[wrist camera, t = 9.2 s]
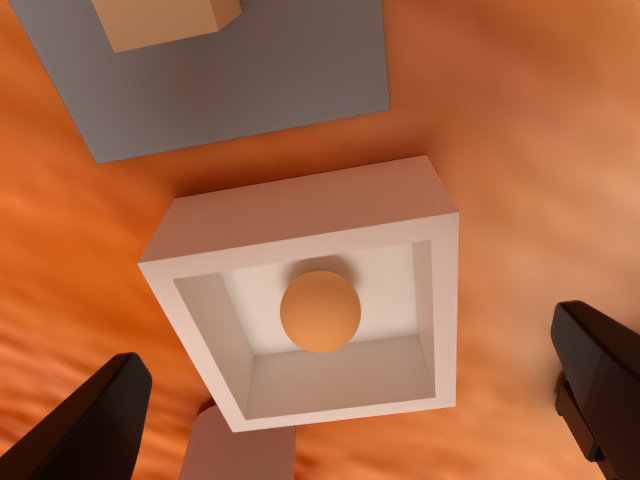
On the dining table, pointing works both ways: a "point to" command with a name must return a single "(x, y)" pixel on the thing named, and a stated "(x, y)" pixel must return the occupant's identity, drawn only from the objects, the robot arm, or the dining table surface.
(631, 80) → the dining table surface
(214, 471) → the can
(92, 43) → the lid
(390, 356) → the box
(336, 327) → the ball
